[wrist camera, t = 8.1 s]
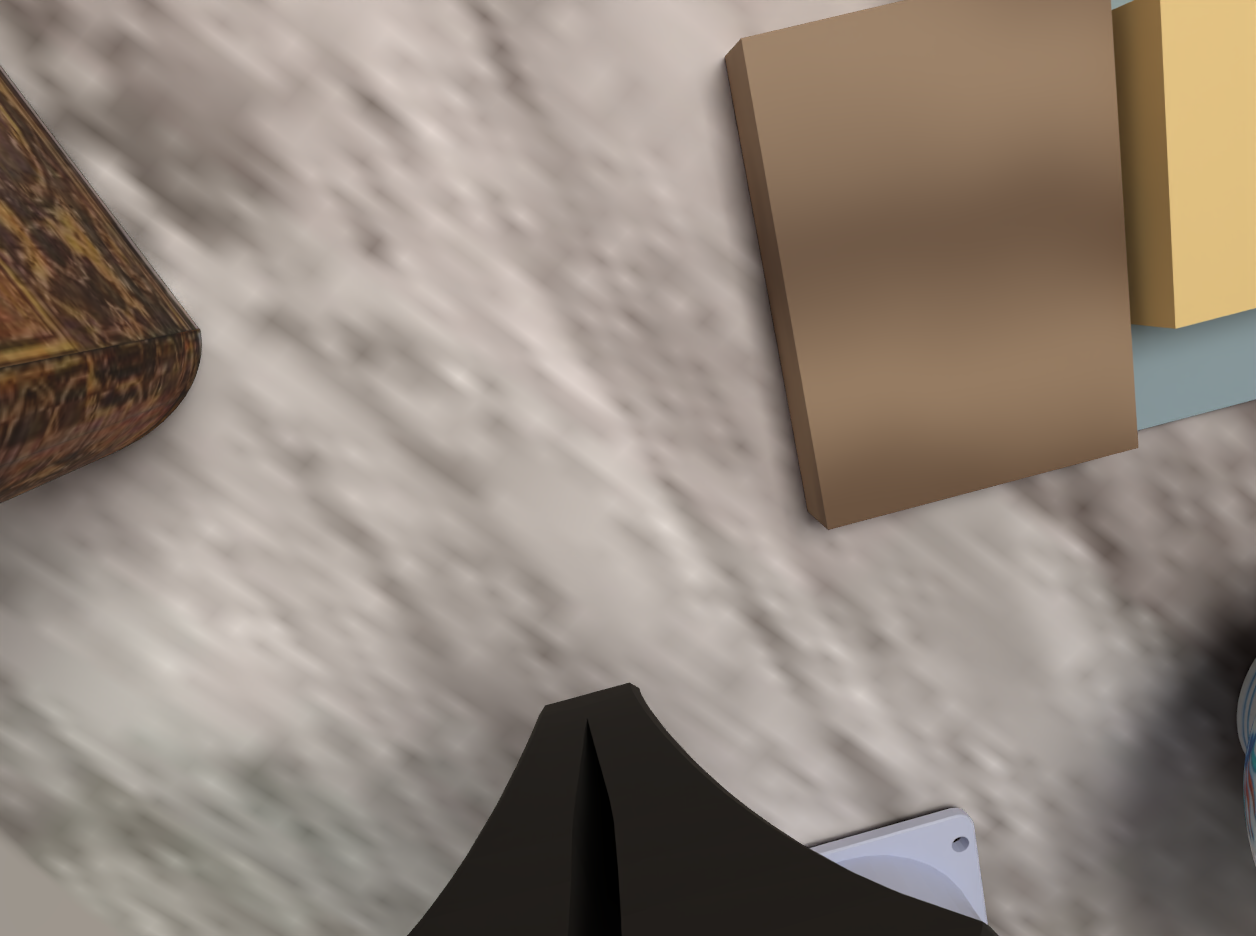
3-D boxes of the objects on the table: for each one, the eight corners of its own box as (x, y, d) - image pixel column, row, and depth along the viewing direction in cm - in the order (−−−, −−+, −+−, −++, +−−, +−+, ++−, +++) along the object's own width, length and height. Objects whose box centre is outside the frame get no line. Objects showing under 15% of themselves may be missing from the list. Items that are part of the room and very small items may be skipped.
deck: (1097, 435, 21) (1138, 447, 20) (807, 511, 21) (828, 529, 19) (1062, -23, 18) (1108, -48, 17) (724, 56, 18) (741, 38, 16)
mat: (1393, 357, 21) (1409, 358, 21) (1100, 433, 21) (1111, 437, 21) (1406, -104, 19) (1425, -111, 18) (1067, -24, 18) (1078, -30, 18)
